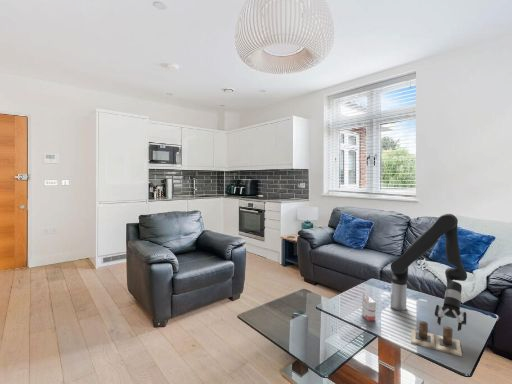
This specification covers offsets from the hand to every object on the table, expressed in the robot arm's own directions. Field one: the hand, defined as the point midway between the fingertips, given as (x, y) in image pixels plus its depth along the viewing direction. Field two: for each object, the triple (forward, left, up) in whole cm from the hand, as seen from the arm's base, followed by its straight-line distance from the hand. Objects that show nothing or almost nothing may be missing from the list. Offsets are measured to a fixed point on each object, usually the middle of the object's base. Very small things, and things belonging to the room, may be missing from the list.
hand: (448, 327), depth 149 cm
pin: (-12, -5, -6) cm, 14 cm away
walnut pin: (-1, -5, -6) cm, 8 cm away
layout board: (-6, -5, -7) cm, 11 cm away
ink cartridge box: (-41, +5, -8) cm, 42 cm away
